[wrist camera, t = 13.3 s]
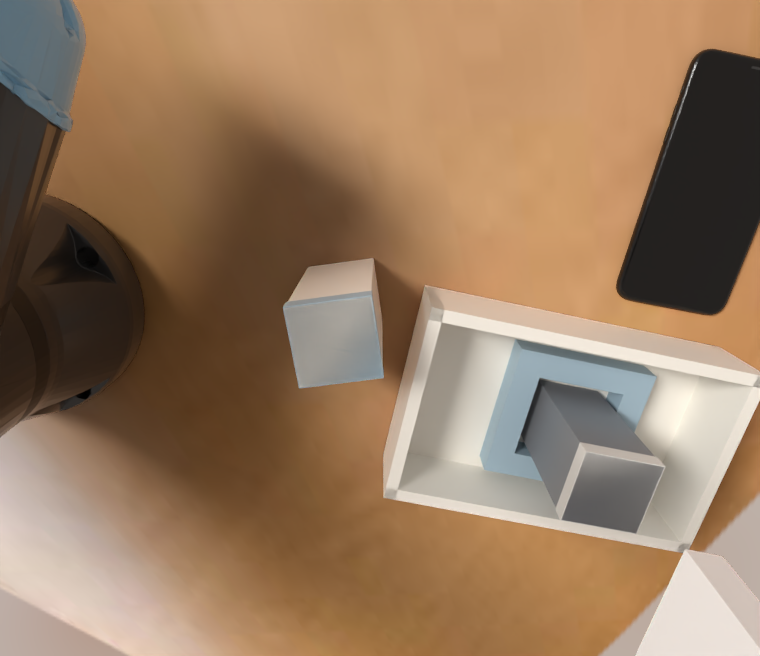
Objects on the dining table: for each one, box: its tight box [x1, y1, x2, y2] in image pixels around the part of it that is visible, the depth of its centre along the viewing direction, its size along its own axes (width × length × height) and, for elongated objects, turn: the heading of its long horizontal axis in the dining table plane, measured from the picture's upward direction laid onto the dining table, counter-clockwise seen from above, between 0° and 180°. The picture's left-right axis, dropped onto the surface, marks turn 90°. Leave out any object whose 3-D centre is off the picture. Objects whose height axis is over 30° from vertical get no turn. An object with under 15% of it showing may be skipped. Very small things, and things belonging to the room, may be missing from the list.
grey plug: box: [521, 379, 665, 534], centre depth 36 cm, size 5×5×10 cm
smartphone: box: [616, 49, 760, 315], centre depth 36 cm, size 8×1×16 cm
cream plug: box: [283, 258, 384, 389], centre depth 34 cm, size 5×5×10 cm
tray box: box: [383, 285, 760, 553], centre depth 39 cm, size 22×14×6 cm, turn 78°
